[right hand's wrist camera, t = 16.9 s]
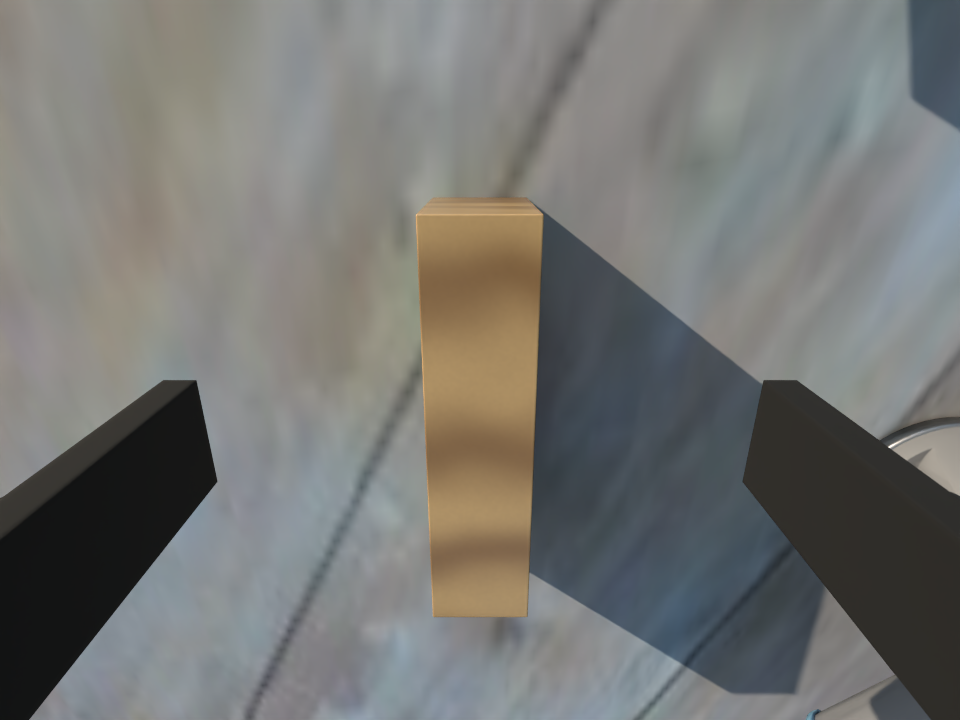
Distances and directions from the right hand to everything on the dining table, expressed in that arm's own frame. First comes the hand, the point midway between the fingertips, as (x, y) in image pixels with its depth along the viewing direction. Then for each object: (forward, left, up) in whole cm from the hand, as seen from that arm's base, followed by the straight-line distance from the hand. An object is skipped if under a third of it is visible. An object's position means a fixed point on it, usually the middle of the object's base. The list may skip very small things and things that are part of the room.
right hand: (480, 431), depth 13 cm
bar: (0, +9, -24) cm, 25 cm away
